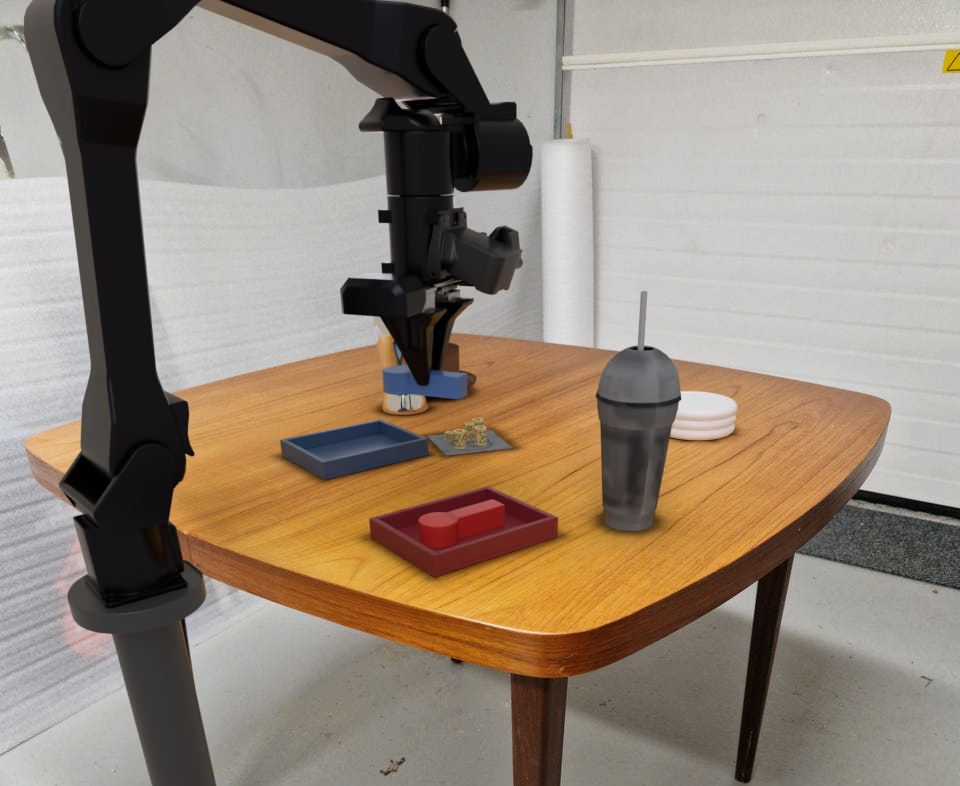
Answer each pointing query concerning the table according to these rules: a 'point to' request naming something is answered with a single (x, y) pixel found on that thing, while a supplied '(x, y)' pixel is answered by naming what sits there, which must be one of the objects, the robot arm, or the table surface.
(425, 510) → the red tray
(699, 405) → the white stacked discs
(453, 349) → the cup and saucer
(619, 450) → the beverage cup
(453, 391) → the blue spoon
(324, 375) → the table surface
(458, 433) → the dice set
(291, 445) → the blue tray
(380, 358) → the beer glass
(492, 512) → the red spoon
